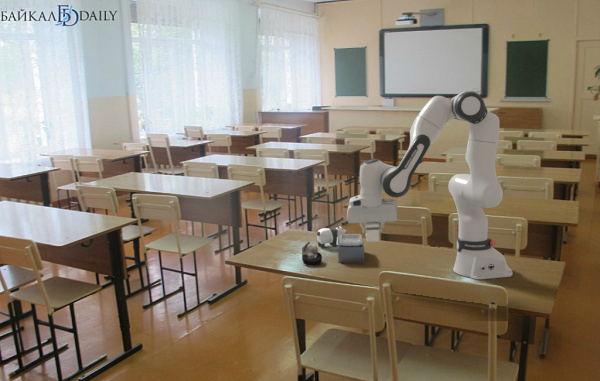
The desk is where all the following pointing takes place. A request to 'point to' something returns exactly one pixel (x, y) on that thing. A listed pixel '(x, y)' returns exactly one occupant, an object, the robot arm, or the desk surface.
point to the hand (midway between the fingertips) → (372, 232)
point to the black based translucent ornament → (311, 255)
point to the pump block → (372, 232)
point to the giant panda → (329, 236)
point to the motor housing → (350, 248)
